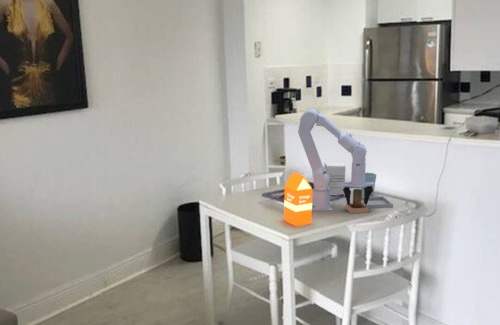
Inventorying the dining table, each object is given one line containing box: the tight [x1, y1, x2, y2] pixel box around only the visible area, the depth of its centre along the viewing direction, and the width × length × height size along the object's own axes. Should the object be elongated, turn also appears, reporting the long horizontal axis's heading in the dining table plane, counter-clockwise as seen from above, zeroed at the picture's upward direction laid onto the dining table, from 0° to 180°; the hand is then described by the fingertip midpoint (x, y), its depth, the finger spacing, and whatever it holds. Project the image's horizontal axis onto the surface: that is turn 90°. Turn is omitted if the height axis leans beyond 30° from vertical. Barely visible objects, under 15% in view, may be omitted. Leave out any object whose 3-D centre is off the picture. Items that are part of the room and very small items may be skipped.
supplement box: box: [323, 161, 346, 195], centre depth 251 cm, size 9×9×15 cm
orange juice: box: [283, 171, 313, 227], centre depth 210 cm, size 8×9×20 cm
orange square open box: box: [344, 202, 370, 214], centre depth 225 cm, size 8×8×3 cm
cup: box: [360, 172, 377, 197], centre depth 248 cm, size 8×8×10 cm
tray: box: [361, 196, 394, 209], centre depth 234 cm, size 12×12×2 cm
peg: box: [352, 188, 363, 208], centre depth 224 cm, size 4×4×9 cm
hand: (356, 204), depth 224 cm, fingers open, 7 cm apart
